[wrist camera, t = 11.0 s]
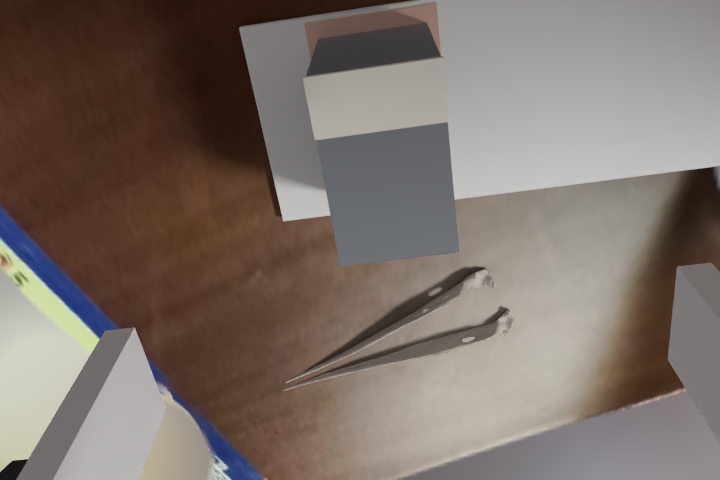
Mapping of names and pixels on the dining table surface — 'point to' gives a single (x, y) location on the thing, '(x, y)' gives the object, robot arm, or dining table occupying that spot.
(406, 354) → the tweezers
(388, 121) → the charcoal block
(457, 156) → the flat white strip
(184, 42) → the dining table surface
